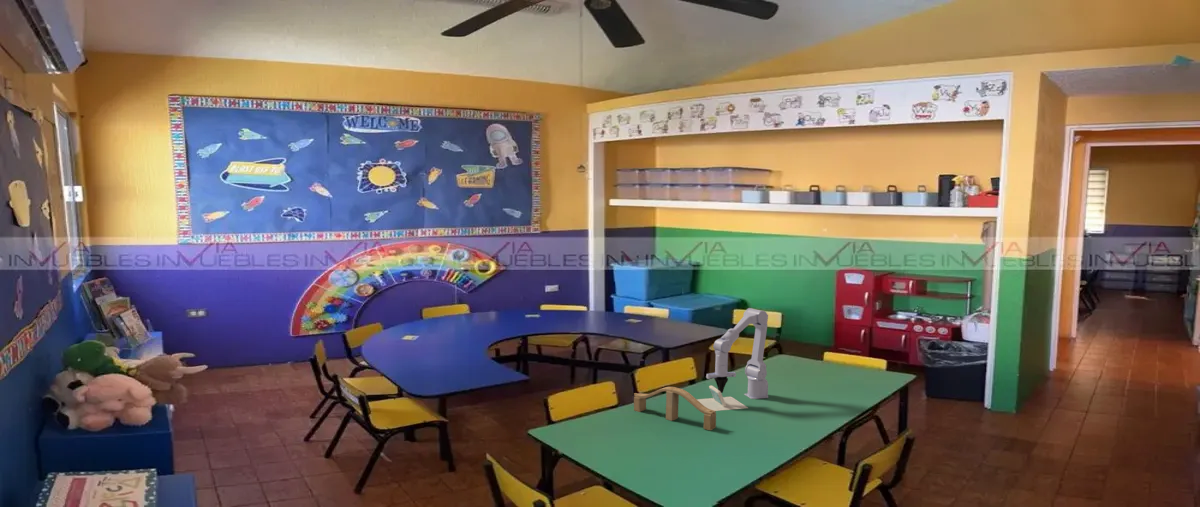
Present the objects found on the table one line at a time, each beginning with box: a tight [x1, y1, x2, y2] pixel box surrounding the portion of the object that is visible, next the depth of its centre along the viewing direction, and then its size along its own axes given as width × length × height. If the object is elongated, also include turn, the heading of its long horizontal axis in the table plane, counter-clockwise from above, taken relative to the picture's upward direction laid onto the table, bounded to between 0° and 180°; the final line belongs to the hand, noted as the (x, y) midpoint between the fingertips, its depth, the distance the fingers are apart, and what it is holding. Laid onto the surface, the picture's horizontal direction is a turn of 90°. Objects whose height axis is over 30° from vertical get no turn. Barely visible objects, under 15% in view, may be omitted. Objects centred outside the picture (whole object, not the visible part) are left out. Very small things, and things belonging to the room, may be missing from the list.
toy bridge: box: [633, 386, 717, 431], centre depth 319 cm, size 42×6×14 cm, turn 50°
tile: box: [708, 384, 726, 407], centre depth 339 cm, size 2×10×8 cm, turn 15°
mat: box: [696, 396, 749, 412], centre depth 340 cm, size 22×18×1 cm
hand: (720, 392), depth 339 cm, fingers closed
